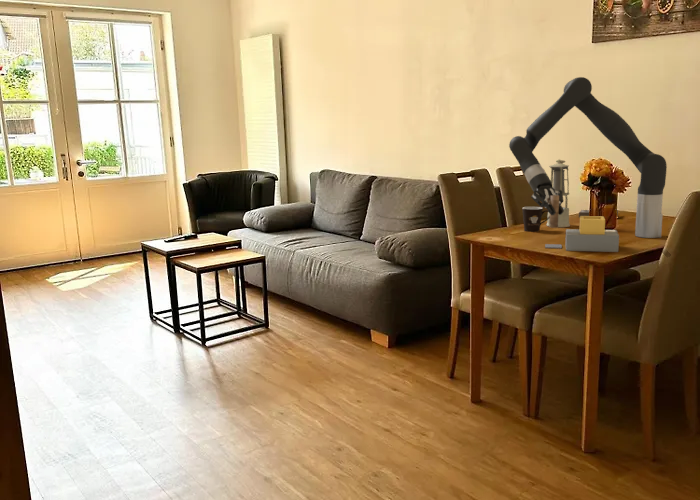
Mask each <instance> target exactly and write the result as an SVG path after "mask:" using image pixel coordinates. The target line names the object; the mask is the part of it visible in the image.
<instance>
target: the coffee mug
mask: <svg viewBox="0 0 700 500" xmlns="http://www.w3.org/2000/svg"><path fill="white" fill-rule="evenodd" d="M521 210H522V219H523V230H524V232H531V233H534V232H535V233H536V232H537V233H538V232H540V230H541V229H540V228H541V225H542V224H544V223H545V222H547V220H548V219H549V217H550V216H549V217H548V216H547V217H548V218H546V219H544V220H543V221H542V216H543V214H545V212H547V213H548V210H547V209H544V210H543V207H541V206H524V207H522V209H521ZM549 214H550V213H549Z"/></svg>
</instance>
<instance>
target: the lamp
mask: <svg viewBox="0 0 700 500" xmlns="http://www.w3.org/2000/svg"><path fill="white" fill-rule="evenodd" d="M555 162H556V163H555V164H551V165H549V168H550V180H551V182H552V187H553V188H554V189H555V191H559V190H561V191H562V194H563V197H565V199H564V200H565V203H564V204H565V206H562V208H563V209H564V212H563V213H562V214H561V215H559V214H558V227H557V228H566V227H567V228H568V227H570V226H571V224H570V208H569V207H568V202H569V201H568V199H569V198H568V196H569V195H570V192H569V191H570V189H569V188H570V187H569V185H570V182H569V166H570V165H568V164H564V163H566V161H565V160H561V159H558V160H556V161H555ZM565 170H566V176H567V178H566V179H565ZM565 181H567V192H566V190H565ZM549 216H550V214H549V212H547V216H546V217H547V218H548V217H549ZM547 218H546V219H547ZM546 222H547V223H546V226H547V227H549V219H548V220H547V221H546Z"/></svg>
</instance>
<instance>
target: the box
mask: <svg viewBox="0 0 700 500" xmlns="http://www.w3.org/2000/svg"><path fill="white" fill-rule="evenodd" d="M589 210H590V209H581V210H580V211H579V212H578V218H579V219H580V216H589ZM616 210H617V217H618V215H619V213H618V212H619V210H618V209H616Z"/></svg>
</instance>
